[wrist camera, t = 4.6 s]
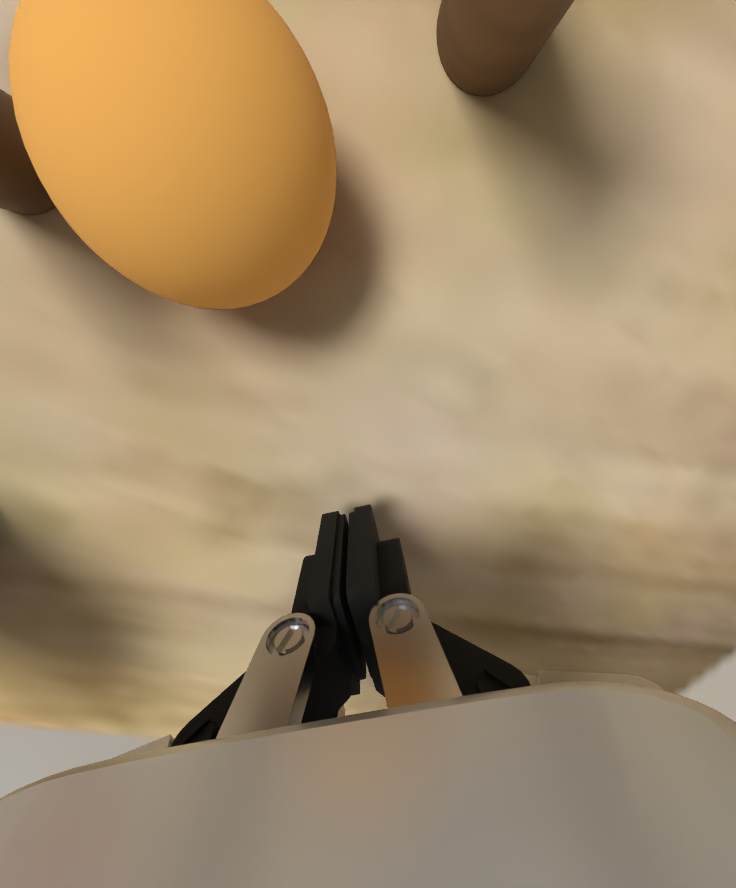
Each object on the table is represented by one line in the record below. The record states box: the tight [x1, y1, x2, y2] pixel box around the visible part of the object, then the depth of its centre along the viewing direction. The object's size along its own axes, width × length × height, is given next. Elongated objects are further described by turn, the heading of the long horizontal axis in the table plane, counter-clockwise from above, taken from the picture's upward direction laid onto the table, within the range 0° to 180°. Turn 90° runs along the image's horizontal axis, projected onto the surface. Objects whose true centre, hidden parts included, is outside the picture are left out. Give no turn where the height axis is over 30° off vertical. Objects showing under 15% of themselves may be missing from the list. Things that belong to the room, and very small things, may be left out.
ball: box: [9, 0, 337, 309], centre depth 7 cm, size 6×6×6 cm
